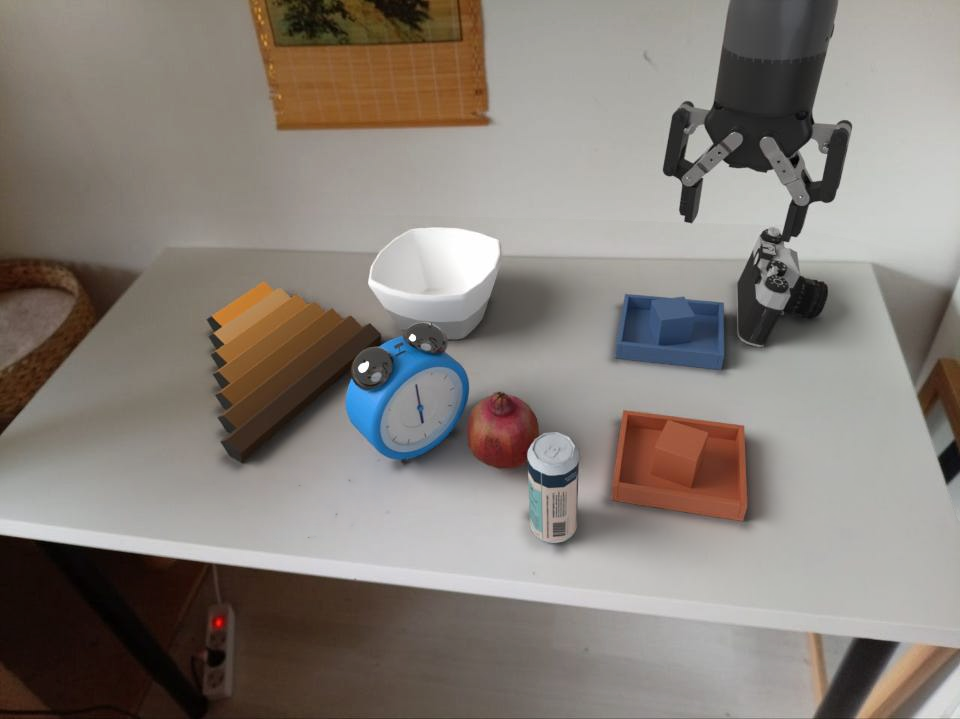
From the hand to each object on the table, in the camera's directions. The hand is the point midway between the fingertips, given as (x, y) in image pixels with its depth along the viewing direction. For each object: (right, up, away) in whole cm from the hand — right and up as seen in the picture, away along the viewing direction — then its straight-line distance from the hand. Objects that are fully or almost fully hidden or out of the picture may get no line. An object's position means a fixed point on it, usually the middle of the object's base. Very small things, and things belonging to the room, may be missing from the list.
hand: (737, 228), depth 62 cm
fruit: (-21, -23, +16) cm, 35 cm away
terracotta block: (-2, -24, +12) cm, 27 cm away
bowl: (-29, -6, +37) cm, 47 cm away
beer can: (-16, -29, +8) cm, 34 cm away
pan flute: (-54, -13, +31) cm, 64 cm away
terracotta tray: (-2, -24, +12) cm, 27 cm away
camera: (+17, -6, +31) cm, 36 cm away
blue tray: (+2, -9, +29) cm, 31 cm away
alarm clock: (-31, -21, +19) cm, 42 cm away
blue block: (+2, -9, +29) cm, 30 cm away
